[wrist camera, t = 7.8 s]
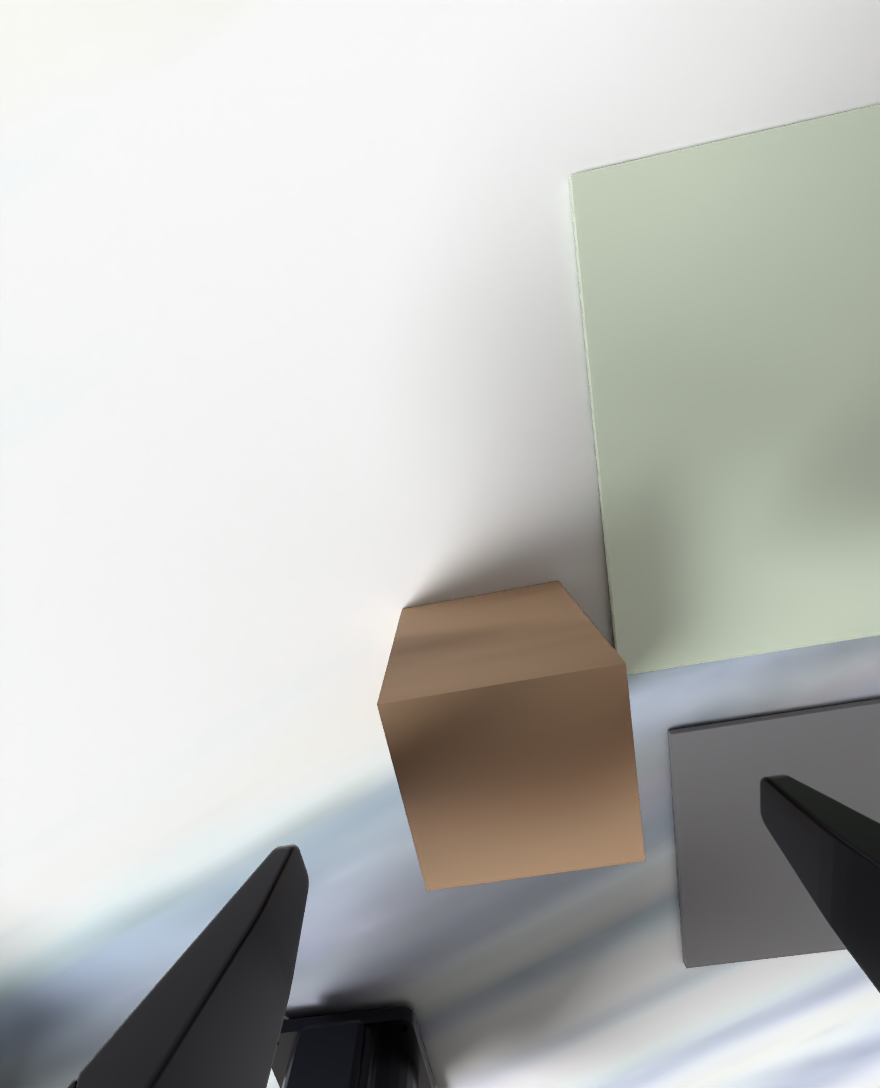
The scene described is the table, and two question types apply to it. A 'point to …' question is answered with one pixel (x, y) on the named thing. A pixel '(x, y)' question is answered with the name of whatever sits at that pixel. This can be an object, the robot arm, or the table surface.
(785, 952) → the mat
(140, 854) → the table surface
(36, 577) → the table surface
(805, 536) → the mat
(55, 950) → the table surface
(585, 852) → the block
